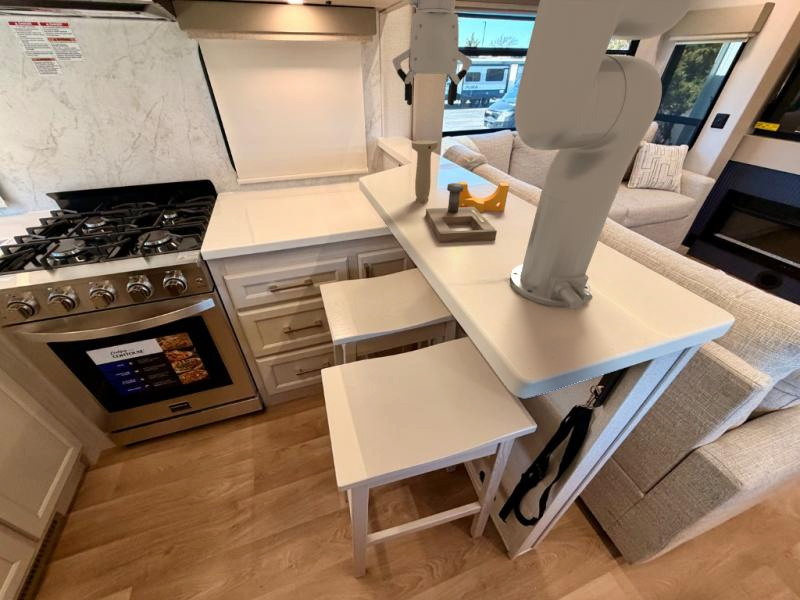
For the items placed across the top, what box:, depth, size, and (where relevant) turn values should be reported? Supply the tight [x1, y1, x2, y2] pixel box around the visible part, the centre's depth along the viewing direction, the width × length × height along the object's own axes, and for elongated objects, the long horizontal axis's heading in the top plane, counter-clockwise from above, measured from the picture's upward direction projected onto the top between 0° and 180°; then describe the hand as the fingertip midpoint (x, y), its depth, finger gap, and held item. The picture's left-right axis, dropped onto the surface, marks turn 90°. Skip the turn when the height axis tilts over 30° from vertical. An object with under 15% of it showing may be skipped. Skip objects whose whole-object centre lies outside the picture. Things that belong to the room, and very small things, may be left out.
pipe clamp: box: [458, 180, 510, 213], centre depth 83 cm, size 12×4×6 cm, turn 85°
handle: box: [411, 139, 439, 204], centre depth 84 cm, size 5×6×15 cm
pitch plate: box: [425, 182, 498, 244], centre depth 72 cm, size 15×12×8 cm
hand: (430, 104), depth 75 cm, fingers open, 9 cm apart
